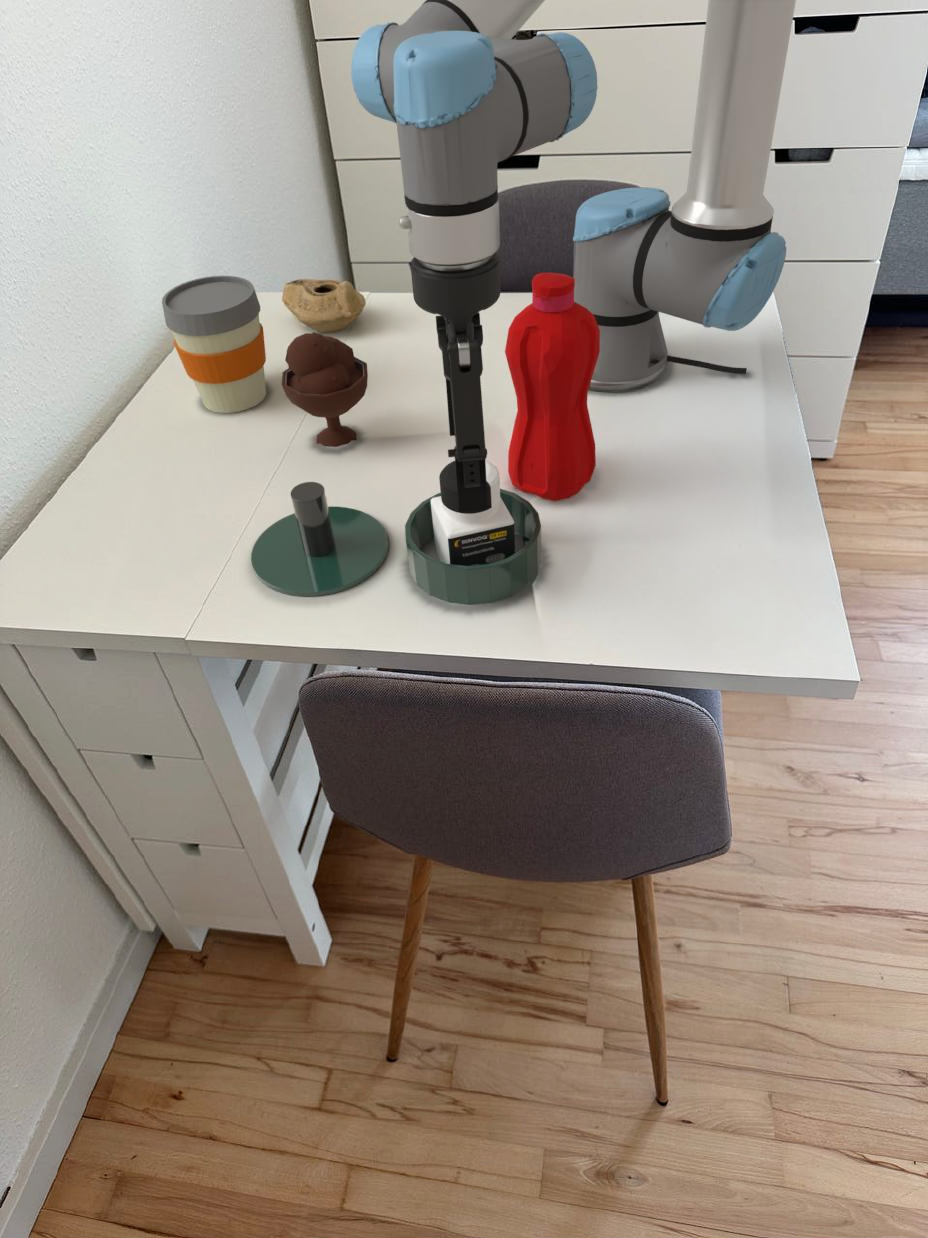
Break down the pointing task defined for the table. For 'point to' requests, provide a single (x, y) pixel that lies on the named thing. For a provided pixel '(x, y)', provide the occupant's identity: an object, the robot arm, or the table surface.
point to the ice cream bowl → (325, 382)
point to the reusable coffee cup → (219, 340)
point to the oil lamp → (323, 303)
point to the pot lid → (318, 546)
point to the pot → (478, 579)
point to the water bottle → (552, 390)
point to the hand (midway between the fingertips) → (467, 469)
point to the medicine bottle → (471, 523)
